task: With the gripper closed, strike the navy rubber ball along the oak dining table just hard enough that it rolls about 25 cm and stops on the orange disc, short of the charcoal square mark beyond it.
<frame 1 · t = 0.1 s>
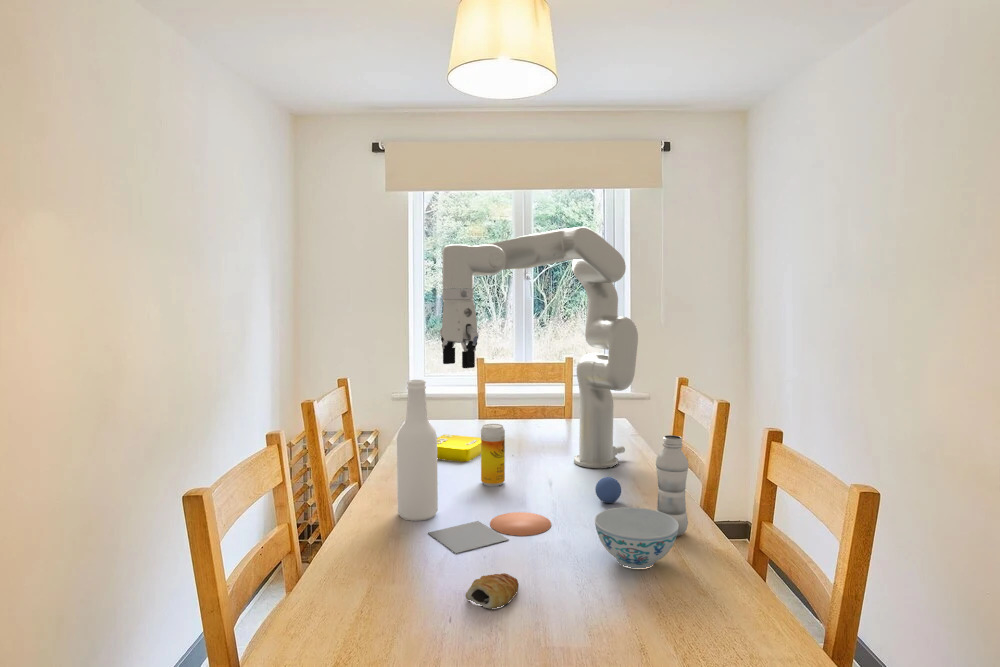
hand: (458, 365, 156), 31 cm above the table, tool pointing down, fingers open, 9 cm apart
pastry: (492, 600, 103), on the table
orange disc: (520, 523, 135), on the table
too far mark: (467, 536, 128), on the table
element tile: (455, 455, 193), on the table
beer can: (492, 484, 163), on the table
chinaware: (635, 563, 116), on the table
plastic bottle: (670, 534, 130), on the table
ball: (608, 489, 149), on the table
alcohol: (417, 515, 141), on the table
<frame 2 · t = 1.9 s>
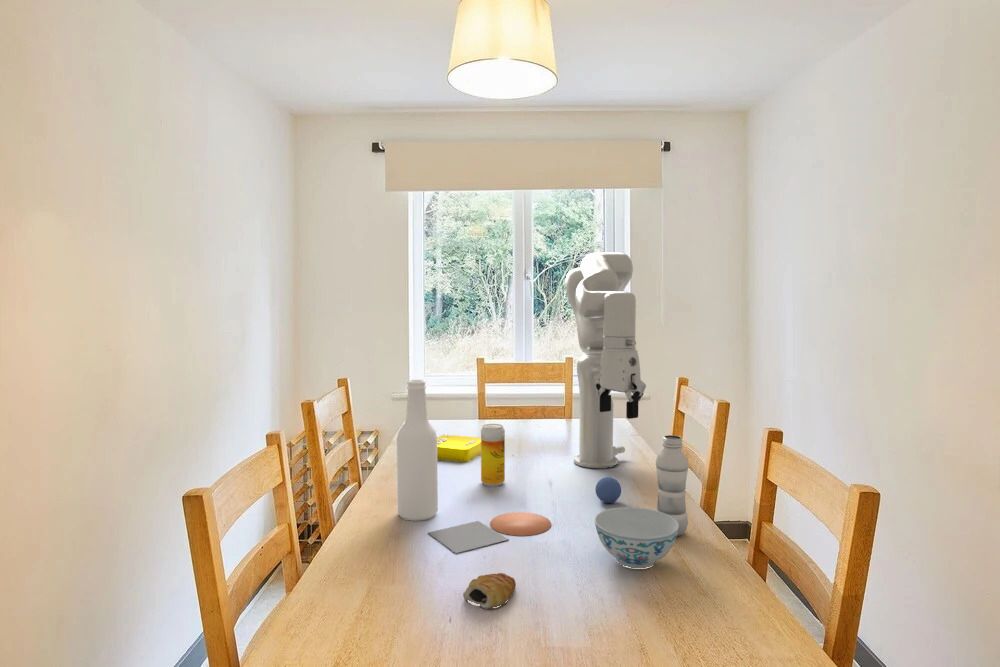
hand: (618, 414, 153), 20 cm above the table, tool pointing down, fingers open, 9 cm apart
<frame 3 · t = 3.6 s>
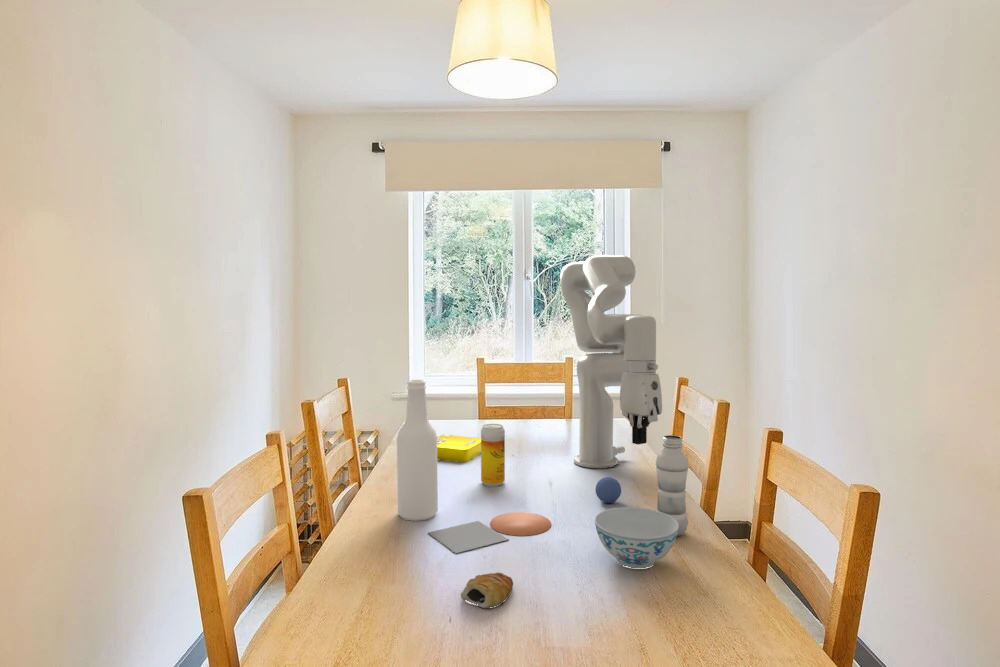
hand: (639, 443, 152), 13 cm above the table, tool pointing down, fingers closed
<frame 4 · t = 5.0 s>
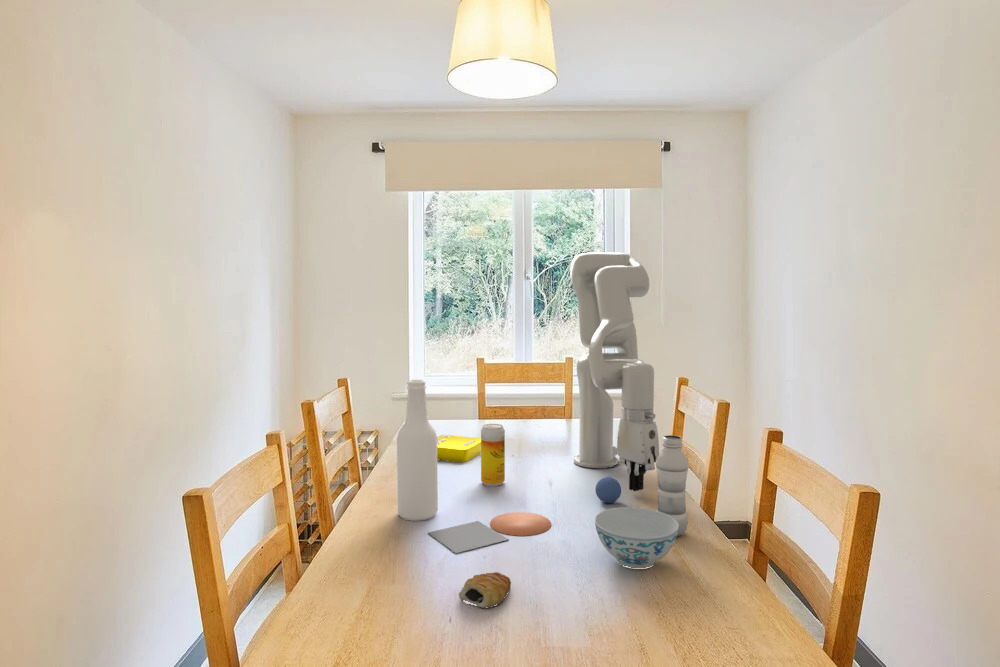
hand: (636, 489, 154), 2 cm above the table, tool pointing down, fingers closed
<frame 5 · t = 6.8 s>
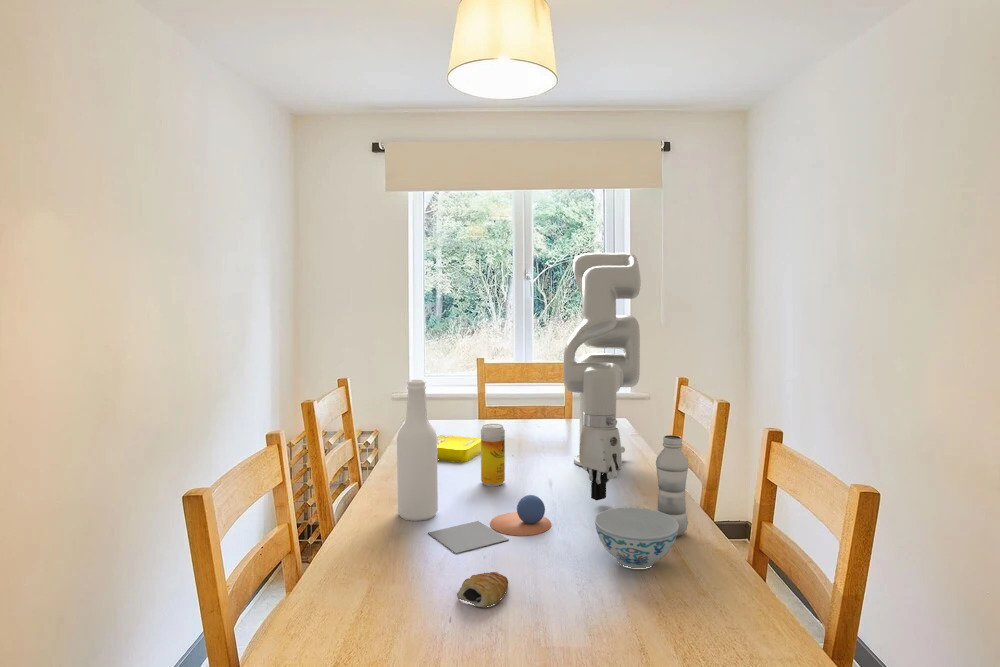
hand: (598, 498, 147), 2 cm above the table, tool pointing down, fingers closed
ball: (530, 509, 136), on the table
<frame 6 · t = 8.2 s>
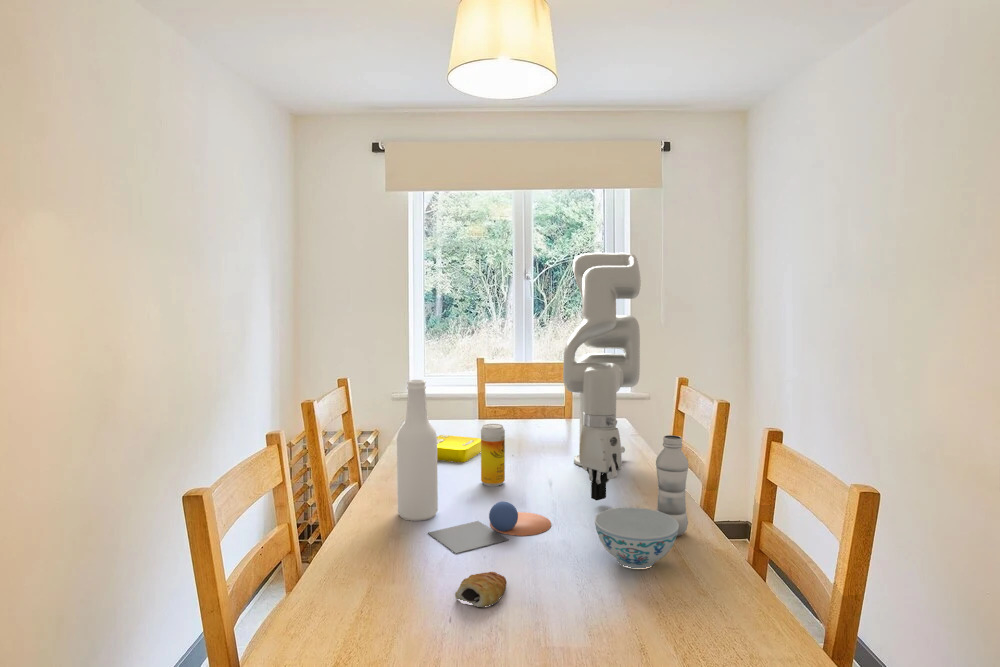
hand: (598, 498, 147), 2 cm above the table, tool pointing down, fingers closed
ball: (503, 516, 131), on the table
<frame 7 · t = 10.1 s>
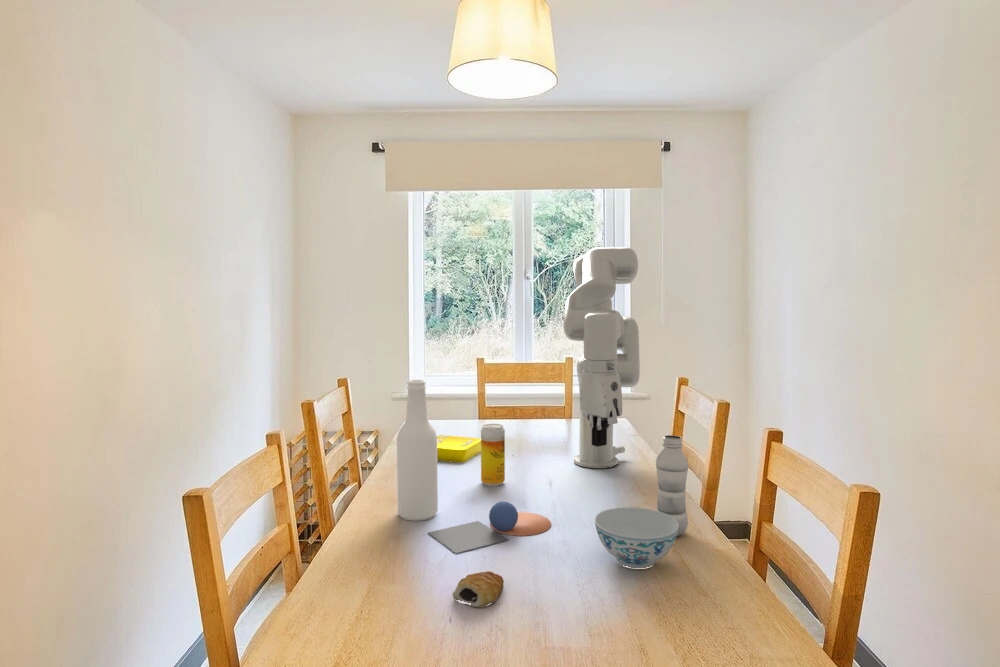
hand: (599, 444, 147), 14 cm above the table, tool pointing down, fingers closed
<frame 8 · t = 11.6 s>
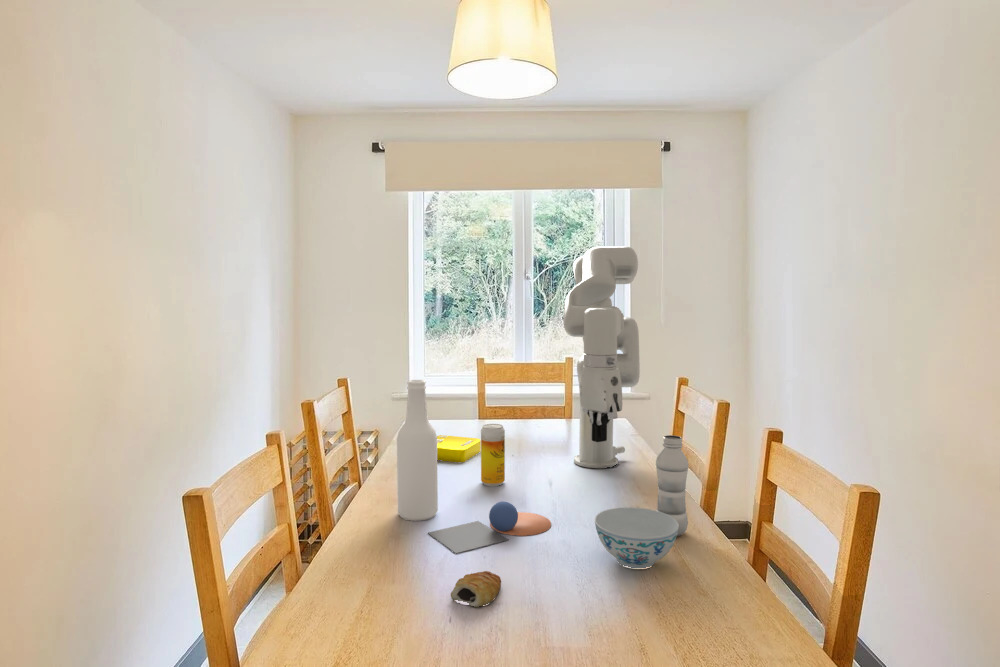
hand: (599, 440, 146), 15 cm above the table, tool pointing down, fingers closed
at the end: ball 5.1 cm from the orange disc (horizontally); ball at rest at the end (0.0 cm/s); ball moved 30.0 cm from its start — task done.
